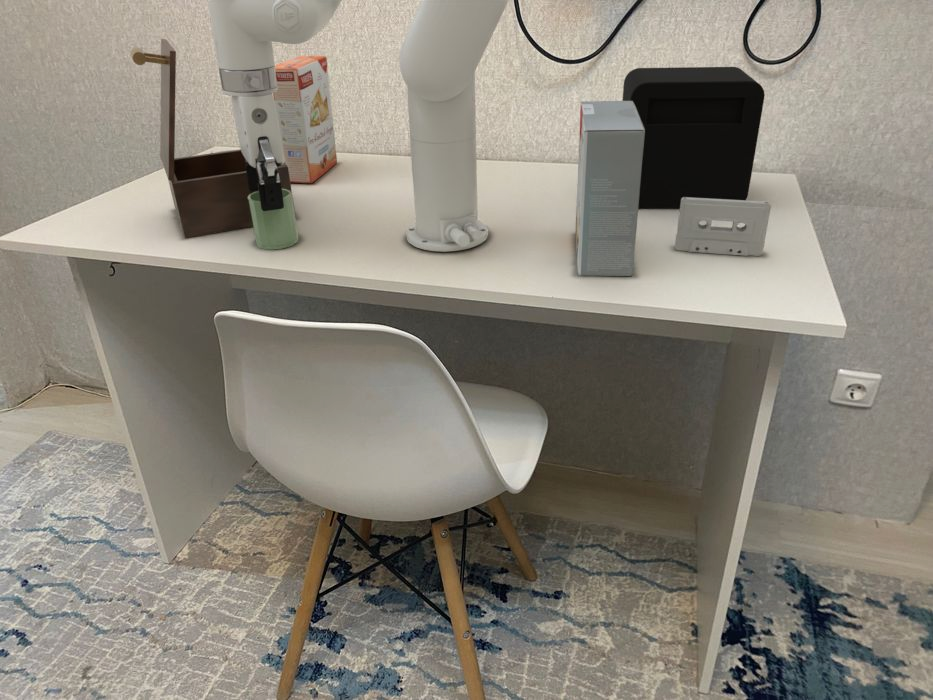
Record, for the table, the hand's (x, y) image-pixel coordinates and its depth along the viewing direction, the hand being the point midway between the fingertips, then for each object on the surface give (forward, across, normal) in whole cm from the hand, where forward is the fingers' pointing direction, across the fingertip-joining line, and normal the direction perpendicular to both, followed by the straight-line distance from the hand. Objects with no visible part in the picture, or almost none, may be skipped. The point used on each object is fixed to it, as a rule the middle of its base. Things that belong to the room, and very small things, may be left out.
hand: (266, 199), depth 111 cm
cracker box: (+7, +33, -15) cm, 37 cm away
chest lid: (-11, +16, +10) cm, 22 cm away
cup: (+7, 0, -1) cm, 7 cm away
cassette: (+5, -35, -57) cm, 67 cm away
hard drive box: (+6, -28, -42) cm, 51 cm away
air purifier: (+5, -12, -68) cm, 69 cm away
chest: (+7, +16, +3) cm, 18 cm away
